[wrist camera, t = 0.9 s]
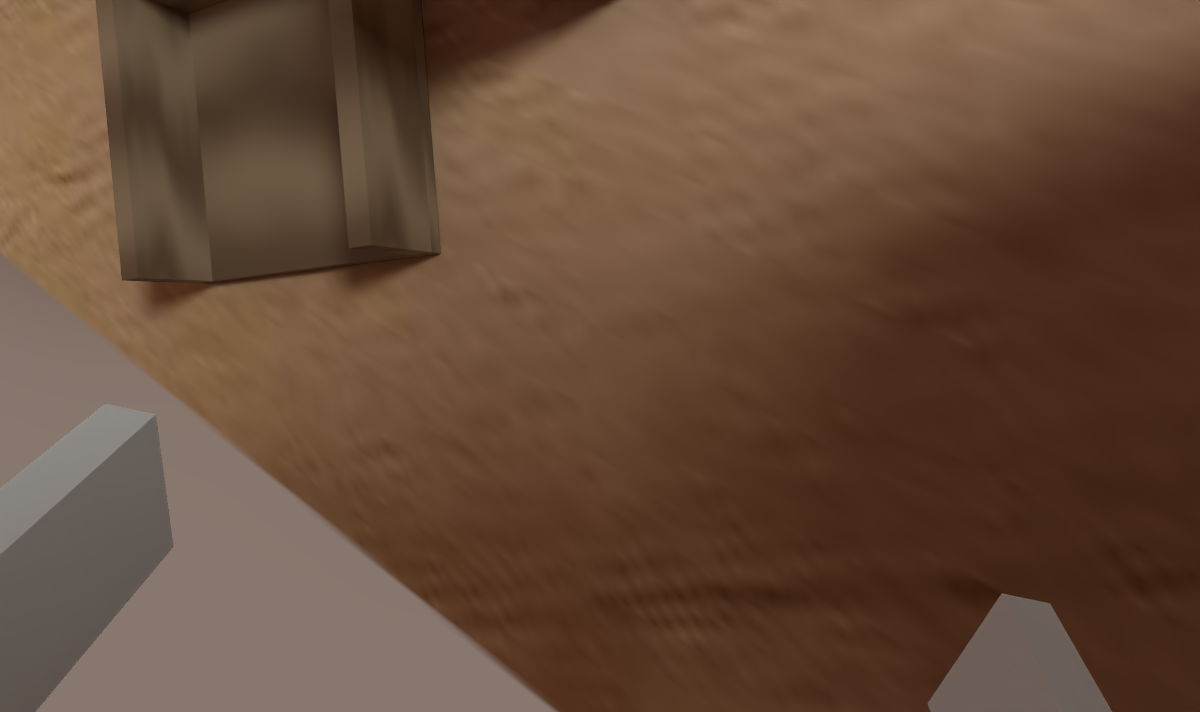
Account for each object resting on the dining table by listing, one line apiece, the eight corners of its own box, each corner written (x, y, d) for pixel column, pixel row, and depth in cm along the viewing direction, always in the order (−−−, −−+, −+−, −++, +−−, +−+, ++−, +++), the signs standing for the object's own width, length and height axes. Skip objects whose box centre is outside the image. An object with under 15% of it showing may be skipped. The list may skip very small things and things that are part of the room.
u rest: (440, 253, 29) (371, 245, 25) (208, 283, 34) (121, 280, 30) (414, -79, 29) (339, -137, 25) (183, 2, 34) (92, -37, 30)
